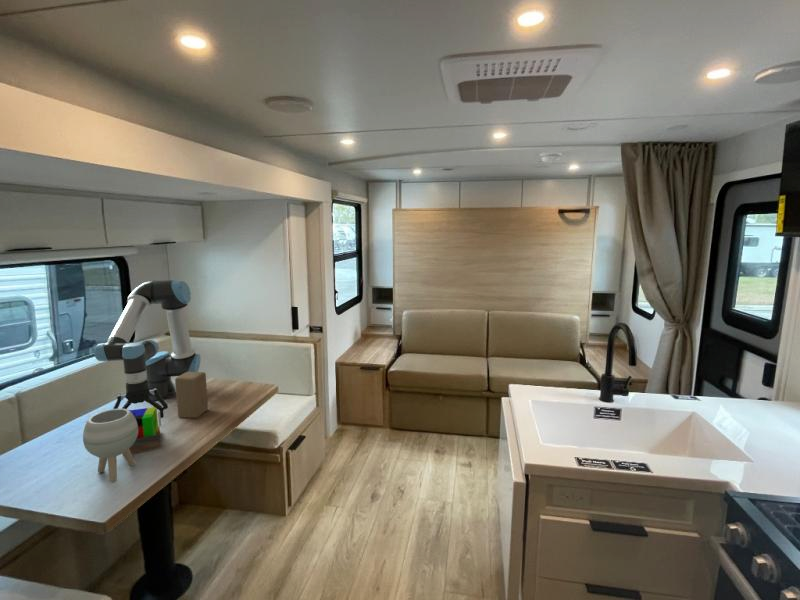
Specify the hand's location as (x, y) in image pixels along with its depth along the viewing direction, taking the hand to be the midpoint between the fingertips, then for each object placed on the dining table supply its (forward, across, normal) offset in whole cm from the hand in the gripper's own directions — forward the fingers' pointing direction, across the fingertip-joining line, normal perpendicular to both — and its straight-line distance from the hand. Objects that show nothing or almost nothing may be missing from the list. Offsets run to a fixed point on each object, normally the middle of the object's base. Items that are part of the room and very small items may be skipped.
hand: (141, 429), depth 166 cm
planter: (+6, -8, -19) cm, 22 cm away
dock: (+6, 0, 0) cm, 6 cm away
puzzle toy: (+3, 0, 0) cm, 3 cm away
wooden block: (+6, +21, +20) cm, 29 cm away
